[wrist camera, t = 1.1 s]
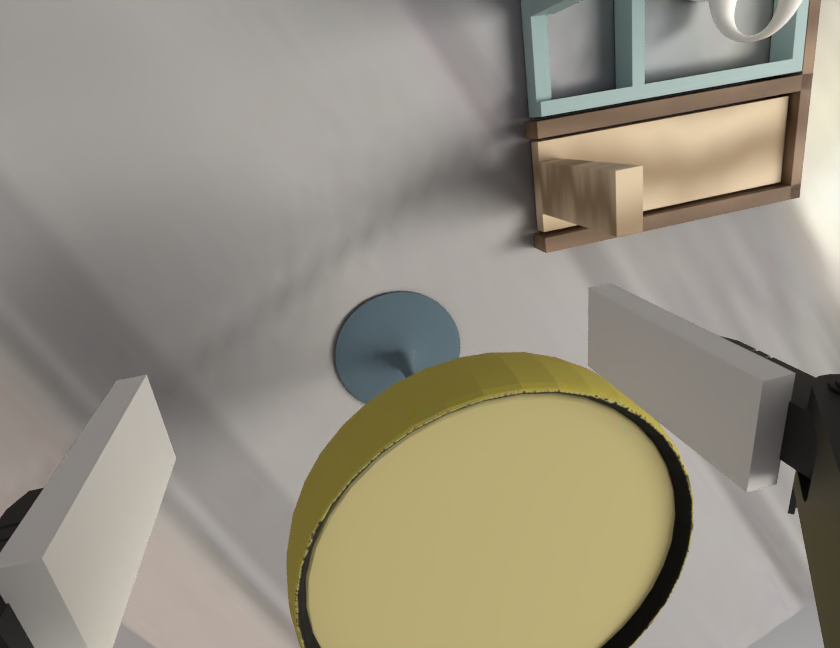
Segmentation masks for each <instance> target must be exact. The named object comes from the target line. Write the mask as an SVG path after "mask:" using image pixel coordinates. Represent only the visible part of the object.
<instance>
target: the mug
mask: <svg viewBox="0 0 840 648" xmlns="http://www.w3.org/2000/svg"><path fill="white" fill-rule="evenodd" d="M691 1H698V2H705V1H708V2H709V7H710V12H711V15H712V18H713V21H714V23H715V25H716V27H717V28H718V29H719V31H720V32H721V33H722V34H723V35H724V36H726V37H727V38H729V39H731V40H734V41H738V42H754V41H758V40H762V39H765V38H767V37H769V36H771V35H772V34H774V33H775V32H777V31H778V30H779V29H780V28H782V27H783V26H784V25H785V24H786V23H787V22H788V21H789V19H790V18H791V17H792V16H793V15H794V13H795V12H796V10H797V9H798V7H799V6H800V4H801V2H802V1H803V0H778V4H777V8H776V11H775V14H774V16H773V18H772V20H771V21H770V23H769V24H768V26H767V27H766V28H765V29H764V30H763V31H761V32H760V33H758V34H756V35H752V36H747V35H744V34H742V33H740V32H739V31H738V29H737V28H736V26H735V22H734V10H735V6H736V2H737V0H691Z"/></svg>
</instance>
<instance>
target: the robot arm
mask: <svg viewBox="0 0 840 648" xmlns="http://www.w3.org/2000/svg"><path fill="white" fill-rule="evenodd" d="M588 366H589V367H590V368H592V369H593V370H594V371H595V372H597V373H598V374H599V375H600V376H602V377H603V378H604V379H605V380H607V381H608V382H609V383H610V384H612V385H613V386H614V387H615V388H617V389H618V390H619V391H620V392H622V393H623V394H624V395H625V396H627V397H628V398H629V399H630V400H632V401H633V402H634V403H635V404H637V405H638V406H639V407H640V408H642V409H643V410H644V411H645V412H647V413H648V414H649V415H650V416H652V417H653V418H654V419H655V420H657V421H658V422H659V423H660V424H662V425H663V426H664V427H665V428H667V429H668V430H669V431H670V432H672V433H673V434H674V435H676V436H677V437H678V438H679V439H681V440H682V441H683V442H684V443H686V444H687V445H688V446H689V447H691V448H692V449H693V450H694V451H696V452H697V453H698V454H699V455H701V456H702V457H703V458H704V459H706V460H707V461H708V462H709V463H711V464H712V465H713V466H714V467H716V468H717V469H718V470H719V471H721V472H722V473H723V474H724V475H726V476H727V477H728V478H729V479H731V480H732V481H733V482H734V483H736V484H737V485H738V486H739V487H741V488H742V489H743V490H744V491H746V492H750V491H753V490H757V489H760V488H764V487H767V486H770V485H774V484H777V478H778V473H779V467H780V461H781V460H782V461H783V462H785V463H786V464H788V465H789V466H791V467H792V468H794V469H795V470H796V473H795V478H794V483H793V489H792V494H791V499H790V505H789V510H788V513H790V514H794V513H795V509H796V508H798V513H799V518H800V523H801V528H802V534H803V539H804V544H805V549H806V554H807V559H808V565H809V570H810V575H811V580H812V585H813V591H814V596H815V601H816V606H817V611H818V616H819V622H820V626H821V632H822V637H823V642H824V647H825V648H840V374H828V375H822V376H819V377H817V378H815V377H813V376H811V375H809V374H807V373H805V372H803V371H801V370H798V369H796V368H794V367H792V366H790V365H788V364H786V363H784V362H782V361H780V360H777V359H775V358H770V356H769V355H767V354H765V353H763V352H761V351H756V349H754V348H752V347H750V346H748V345H746V344H744V343H742V342H740V341H737V340H733V339H729V338H725V337H722V336H718V335H716V334H714V333H712V332H710V331H708V330H706V329H704V328H702V327H700V326H698V325H696V324H694V323H692V322H689V321H687V320H685V319H683V318H681V317H679V316H677V315H675V314H673V313H671V312H669V311H667V310H665V309H663V308H661V307H659V306H657V305H654V304H652V303H650V302H648V301H646V300H644V299H642V298H640V297H638V296H636V295H634V294H632V293H630V292H628V291H626V290H624V289H622V288H620V287H617V286H615V285H613V284H611V283H609V284H604V285H599V286H594V287H589V301H588ZM175 460H176V457H175V454H174V451H173V448H172V445H171V442H170V440H169V437H168V434H167V431H166V428H165V425H164V423H163V420H162V417H161V414H160V411H159V408H158V405H157V403H156V400H155V397H154V394H153V391H152V388H151V386H150V383H149V380H148V377H147V375H142V376H137V377H132V378H127V379H122V380H117V381H116V382H115V383H114V385H113V386H112V388H111V389H110V391H109V392H108V394H107V395H106V397H105V398H104V400H103V401H102V403H101V404H100V406H99V407H98V409H97V410H96V412H95V413H94V415H93V416H92V418H91V419H90V420H89V422H88V423H87V425H86V426H85V428H84V429H83V431H82V432H81V434H80V435H79V437H78V438H77V440H76V441H75V443H74V444H73V446H72V447H71V449H70V450H69V452H68V453H67V455H66V456H65V458H64V459H63V460H62V462H61V463H60V465H59V466H58V468H57V469H56V471H55V472H54V474H53V475H52V477H51V478H50V480H49V481H48V483H47V484H46V486H45V487H44V488H41V489H36V490H32V491H29V492H27V493H26V494H25V495H24V496H23V497H21V498H20V499H19V500H18V501H16V502H15V503H14V504H13V505H12V506H10V507H9V508H8V509H7V510H6V511H5V512H4V514H3V515H2V516H1V518H0V648H112V647H113V644H114V641H115V638H116V635H117V632H118V629H119V626H120V624H121V621H122V618H123V615H124V612H125V609H126V606H127V603H128V600H129V597H130V594H131V591H132V588H133V585H134V582H135V579H136V576H137V573H138V570H139V567H140V564H141V561H142V558H143V555H144V552H145V549H146V546H147V543H148V540H149V537H150V535H151V532H152V529H153V526H154V523H155V520H156V517H157V514H158V511H159V508H160V505H161V502H162V499H163V496H164V493H165V490H166V487H167V484H168V481H169V478H170V475H171V472H172V469H173V466H174V463H175Z"/></svg>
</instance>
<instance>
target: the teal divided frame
mask: <svg viewBox="0 0 840 648" xmlns="http://www.w3.org/2000/svg"><path fill="white" fill-rule="evenodd" d="M580 1H582V0H521V12H522V26H523V39H524V53H525V66H526V80H527V93H528V107H529V118H532V117H543V116H549V115H554V114H560V113H566V112H571V111H577V110H583V109H588V108H594V107H600V106H605V105H611V104H617V103H622V102H628V101H634V100H639V99H645V98H651V97H656V96H662V95H668V94H674V93H679V92H685V91H691V90H696V89H702V88H708V87H713V86H719V85H725V84H730V83H736V82H742V81H747V80H753V79H759V78H764V77H770V76H776V75H781V74H787V73H793V72H798V71H802V65H803V55H804V45H805V36H806V26H807V16H808V6H809V0H803V1H802V2H801V4H800V6H799V7H798V9H797V10H796V12H795V13H794V15H793V16H792V17H791V18H790V19H789V21H788V22H787V23H786V24H785V25H784V26H783V27H782V28H780V29H779V30H778V31H777V32H775V33H774V34H772V35H771V47H770V60H769V63H763V64H757V65H751V66H746V67H740V68H734V69H728V70H722V71H717V72H711V73H705V74H699V75H693V76H687V77H682V78H676V79H670V80H664V81H658V82H652V83H647V84H645V0H614V3H615V63H616V89H612V90H606V91H600V92H594V93H588V94H582V95H577V96H571V97H565V98H559V99H553V100H552V97H551V80H550V63H549V46H548V29H547V14H554V13H556V12H559V11H561V10H563V9H565V8H567V7H569V6H571V5H574V4H576V3H578V2H580ZM777 4H778V0H774V10H773V16H774V14H775V11H776V8H777Z"/></svg>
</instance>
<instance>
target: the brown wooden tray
mask: <svg viewBox="0 0 840 648" xmlns="http://www.w3.org/2000/svg"><path fill="white" fill-rule="evenodd" d="M820 4H821V0H809V6H808V16H807V26H806V36H805V45H804V55H803V65H802V71H798V72H793V73H787V74H781V75H779V78H773V79H768V80H762V81H756V82H751V83H745V84H739V85H734V86H728V87H722V88H717V89H711V90H705V91H700V92H694V93H689V94H683V95H677V96H672V97H666V98H660V99H655V100H649V101H643V102H638V103H632V104H626V105H621V106H615V107H610V108H604V109H598V110H593V111H587V112H581V113H576V114H570V115H564V116H559V117H553V118H547V119H542V120H536V121H530V122H525V130H526V139H540V138H545V137H551V136H556V135H562V134H567V133H573V132H578V131H584V130H589V129H595V128H600V127H606V126H611V125H617V124H622V123H627V122H633V121H638V120H644V119H649V118H655V117H660V116H666V115H671V114H677V113H682V112H688V111H693V110H698V109H704V108H709V107H715V106H720V105H726V104H731V103H737V102H742V101H748V100H753V99H759V98H764V97H769V96H775V95H778V97H782V96H789V98H788V109H787V119H786V130H785V140H784V151H783V161H782V172H781V182H778V183H773V184H768V185H764V186H759V187H754V188H750V189H745V190H740V191H735V192H731V193H726V194H721V195H717V196H712V197H707V198H702V199H698V200H693V201H688V202H684V203H679V204H674V205H670V206H665V207H660V208H655V209H651V210H646V211H643V231H648V230H653V229H657V228H662V227H666V226H671V225H675V224H680V223H685V222H689V221H694V220H698V219H703V218H707V217H712V216H716V215H721V214H726V213H730V212H735V211H739V210H744V209H748V208H753V207H757V206H762V205H767V204H771V203H776V202H780V201H785V200H789V199H794V198H799V196H800V187H801V178H802V169H803V160H804V150H805V141H806V132H807V123H808V114H809V105H810V96H811V86H812V77H813V68H814V59H815V50H816V41H817V32H818V22H819V13H820ZM643 231H642V232H643ZM638 233H639V232H638ZM633 234H634V233H633ZM629 235H630V234H629ZM624 236H625V235H624ZM620 237H621V236H620ZM612 238H616V237H615V236H612V235H608V234H605V233H602V232H599V231H596V230H592V229H589V228H586V227H583V226H580V225H576V226H571V227H566V228H561V229H557V230H552V231H547V232H539V233H534V246H535V248H537V249H539V250H541V251H543V252H545V253H548V252H552V251H557V250H561V249H566V248H570V247H575V246H580V245H584V244H589V243H593V242H598V241H602V240H607V239H612Z"/></svg>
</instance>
